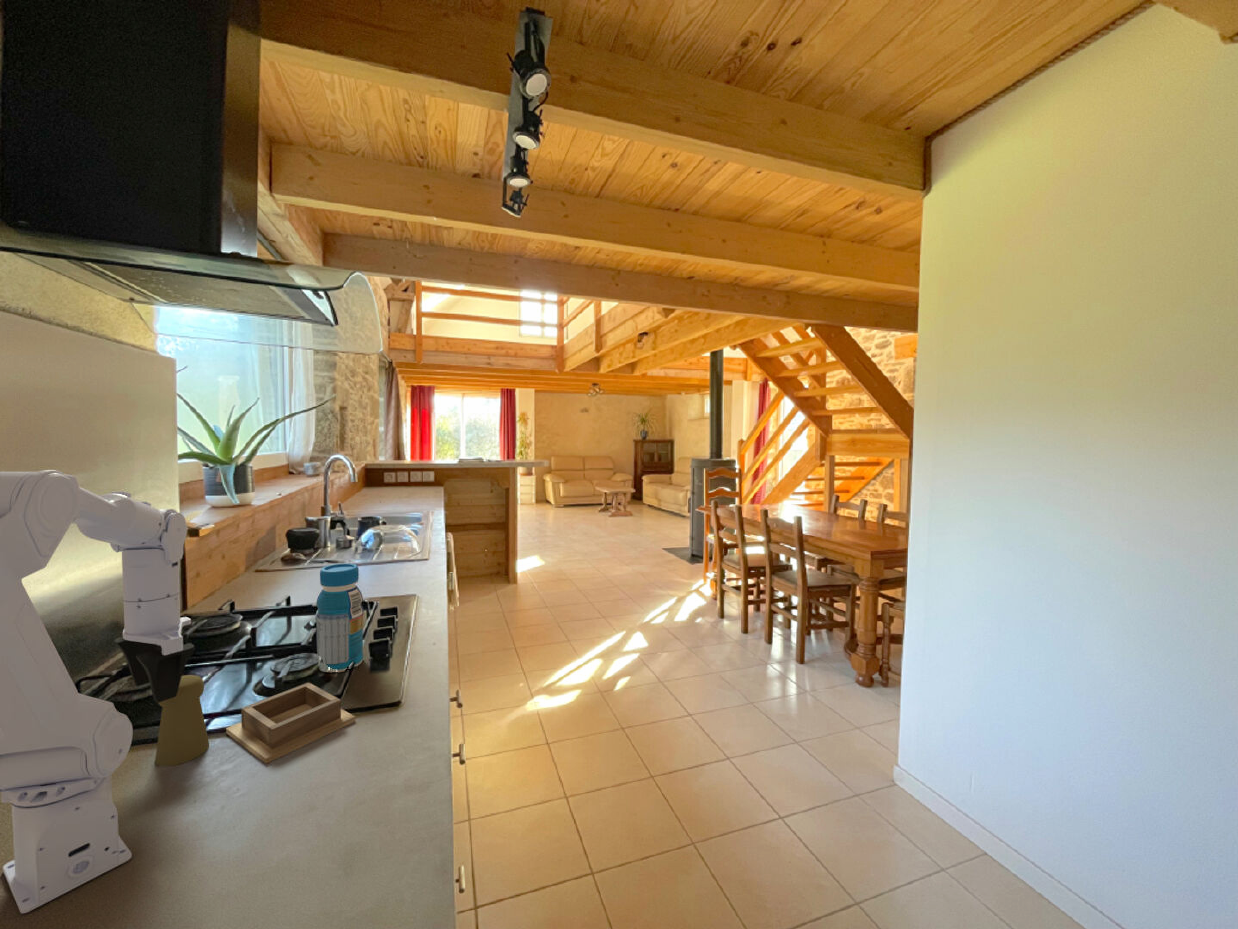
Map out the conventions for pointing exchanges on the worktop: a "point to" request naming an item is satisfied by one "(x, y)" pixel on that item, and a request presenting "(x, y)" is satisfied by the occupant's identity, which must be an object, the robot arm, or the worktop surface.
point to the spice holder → (288, 721)
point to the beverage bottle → (340, 617)
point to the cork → (182, 725)
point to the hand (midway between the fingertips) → (155, 690)
